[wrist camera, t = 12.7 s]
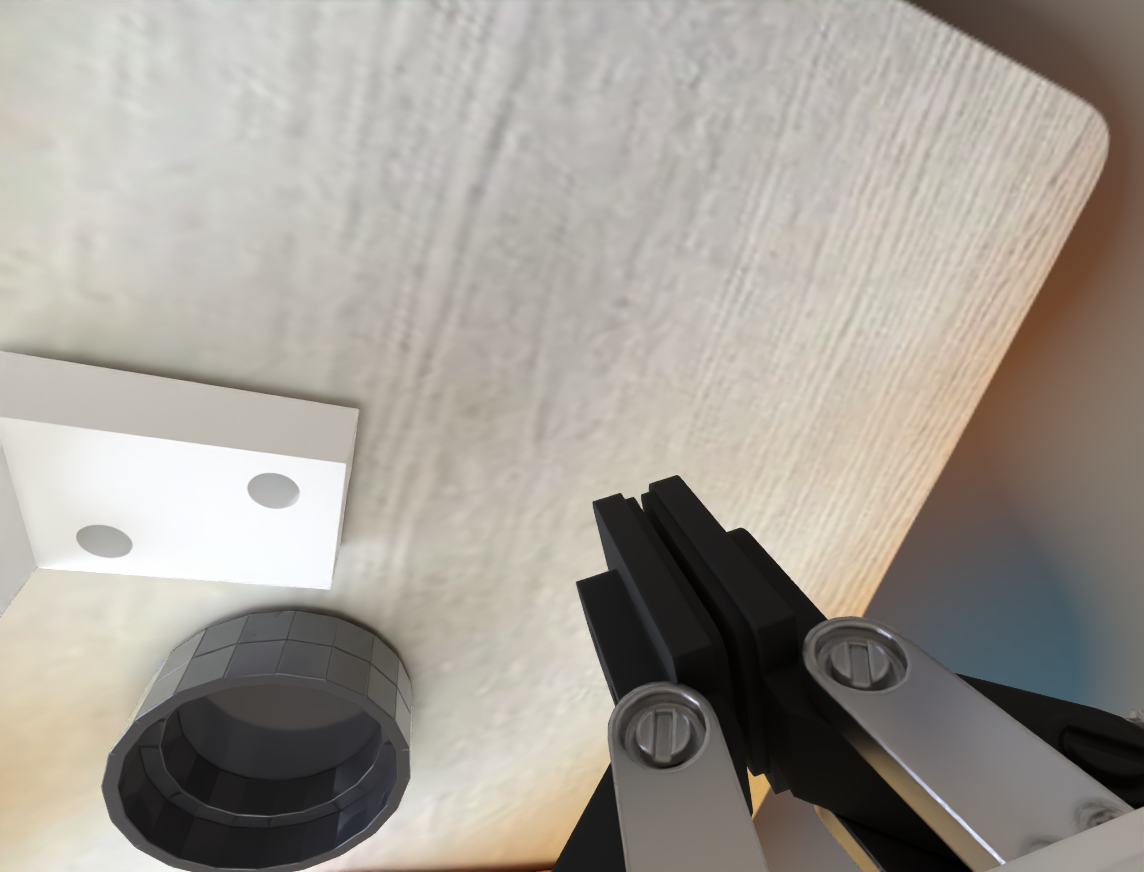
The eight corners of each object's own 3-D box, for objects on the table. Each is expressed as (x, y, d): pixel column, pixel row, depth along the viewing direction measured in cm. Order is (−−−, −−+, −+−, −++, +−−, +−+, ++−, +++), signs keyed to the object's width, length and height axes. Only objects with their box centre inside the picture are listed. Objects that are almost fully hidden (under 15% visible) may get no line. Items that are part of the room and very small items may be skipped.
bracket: (9, 495, 24) (-139, 660, 18) (-35, 345, 20) (-241, 491, 14) (343, 529, 28) (311, 675, 22) (359, 409, 24) (326, 545, 18)
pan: (95, 656, 27) (36, 740, 23) (362, 571, 28) (351, 634, 24) (222, 820, 32) (192, 912, 28) (442, 741, 33) (444, 817, 29)
